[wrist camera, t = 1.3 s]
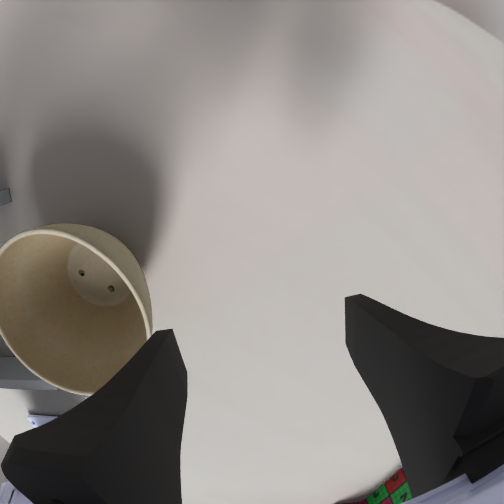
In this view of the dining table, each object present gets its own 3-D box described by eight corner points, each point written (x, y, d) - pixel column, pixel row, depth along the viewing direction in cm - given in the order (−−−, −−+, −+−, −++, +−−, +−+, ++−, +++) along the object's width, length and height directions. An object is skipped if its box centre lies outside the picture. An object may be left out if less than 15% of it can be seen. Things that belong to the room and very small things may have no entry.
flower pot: (25, 220, 19) (-36, 254, 12) (147, 181, 19) (109, 203, 12) (72, 339, 22) (36, 398, 16) (188, 321, 22) (177, 389, 16)
